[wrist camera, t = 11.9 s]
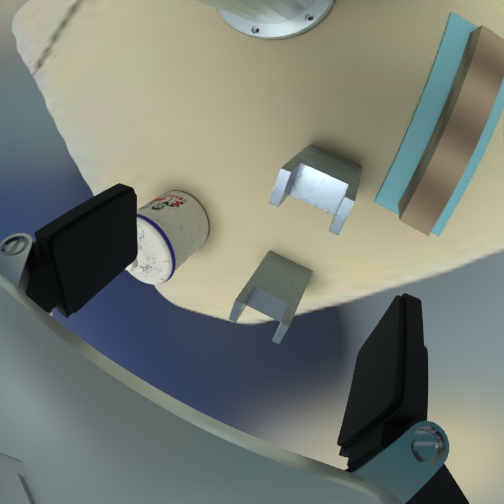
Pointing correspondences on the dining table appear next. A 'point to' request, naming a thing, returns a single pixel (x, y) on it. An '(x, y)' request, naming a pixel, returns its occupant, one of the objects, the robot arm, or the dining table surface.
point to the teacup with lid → (167, 236)
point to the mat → (427, 121)
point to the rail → (455, 131)
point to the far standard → (274, 291)
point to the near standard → (319, 183)
